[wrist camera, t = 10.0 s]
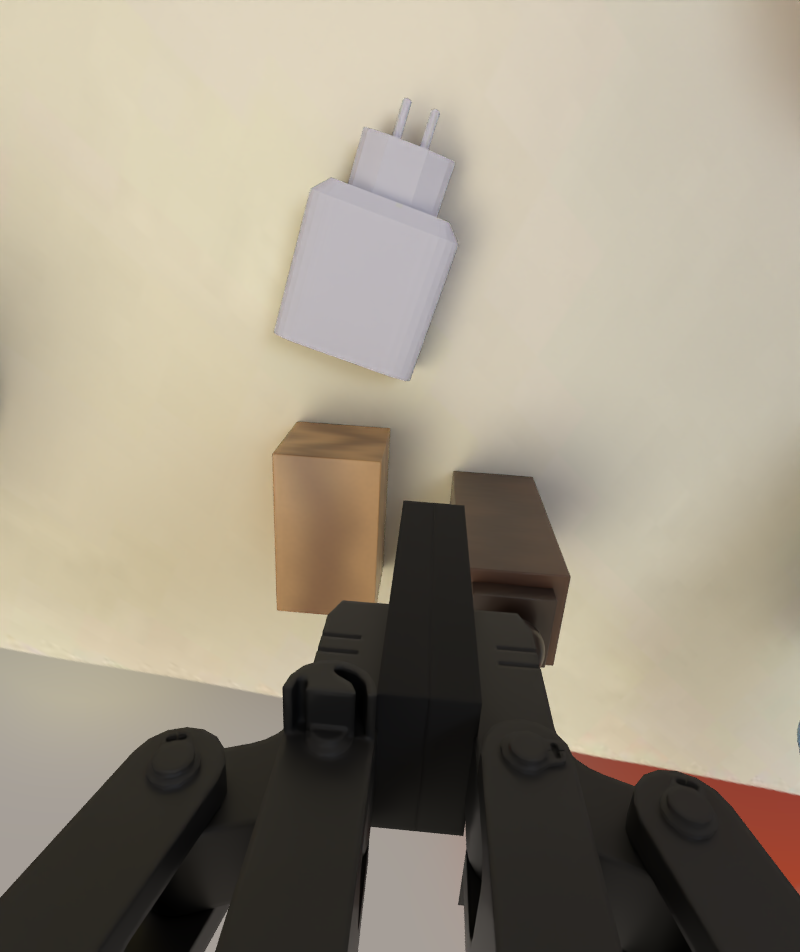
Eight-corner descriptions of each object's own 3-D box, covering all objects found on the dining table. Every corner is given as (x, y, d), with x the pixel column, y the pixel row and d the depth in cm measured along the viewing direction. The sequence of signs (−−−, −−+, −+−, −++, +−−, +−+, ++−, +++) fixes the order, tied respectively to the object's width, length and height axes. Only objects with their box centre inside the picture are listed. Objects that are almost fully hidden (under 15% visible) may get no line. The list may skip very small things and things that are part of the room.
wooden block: (390, 428, 43) (381, 461, 37) (383, 567, 48) (374, 619, 41) (296, 421, 44) (271, 453, 37) (298, 560, 48) (276, 610, 42)
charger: (493, 140, 36) (412, 368, 42) (351, 84, 35) (288, 324, 41) (501, 126, 31) (408, 384, 37) (338, 62, 31) (269, 334, 37)
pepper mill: (502, 461, 47) (695, 560, 34) (494, 528, 49) (671, 644, 36) (351, 489, 40) (518, 627, 27) (349, 565, 42) (502, 726, 29)
